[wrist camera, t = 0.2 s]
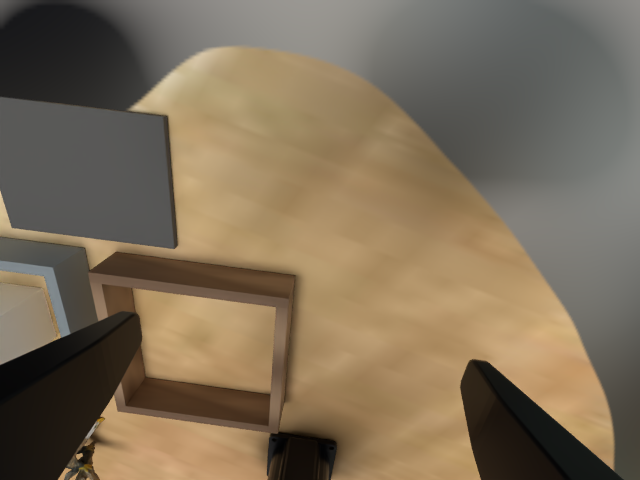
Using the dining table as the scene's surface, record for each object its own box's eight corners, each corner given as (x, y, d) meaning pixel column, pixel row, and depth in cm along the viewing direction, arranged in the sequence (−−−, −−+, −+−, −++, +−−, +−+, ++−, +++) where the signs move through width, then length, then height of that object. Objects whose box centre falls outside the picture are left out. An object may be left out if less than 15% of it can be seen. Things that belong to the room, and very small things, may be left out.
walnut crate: (283, 403, 31) (277, 433, 28) (137, 382, 31) (117, 411, 28) (295, 275, 25) (288, 298, 22) (115, 252, 25) (87, 272, 22)
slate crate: (112, 379, 31) (89, 407, 28) (-31, 359, 31) (-67, 385, 28) (84, 247, 25) (52, 267, 22) (-91, 225, 25) (-143, 241, 23)
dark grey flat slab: (177, 246, 25) (174, 249, 24) (17, 225, 25) (11, 227, 24) (166, 116, 21) (162, 117, 20) (-22, 93, 21) (-30, 93, 21)
